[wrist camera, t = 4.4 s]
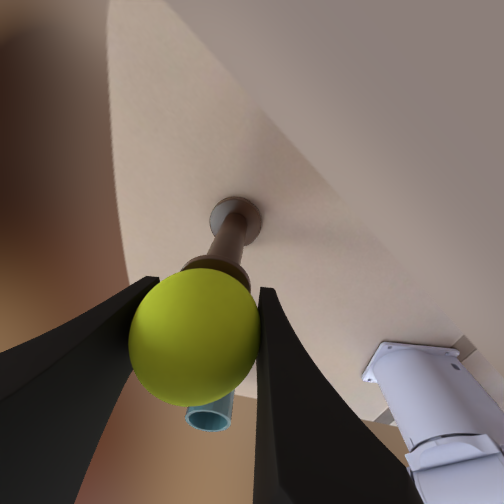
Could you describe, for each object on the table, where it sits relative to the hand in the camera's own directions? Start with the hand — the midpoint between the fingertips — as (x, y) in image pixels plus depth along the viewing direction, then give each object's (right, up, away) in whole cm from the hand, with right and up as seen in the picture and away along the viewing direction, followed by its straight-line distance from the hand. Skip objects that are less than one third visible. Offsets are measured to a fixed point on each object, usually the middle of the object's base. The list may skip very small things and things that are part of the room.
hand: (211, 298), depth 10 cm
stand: (+1, +5, +9) cm, 10 cm away
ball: (0, 0, +1) cm, 1 cm away
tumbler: (-3, -14, +20) cm, 24 cm away
